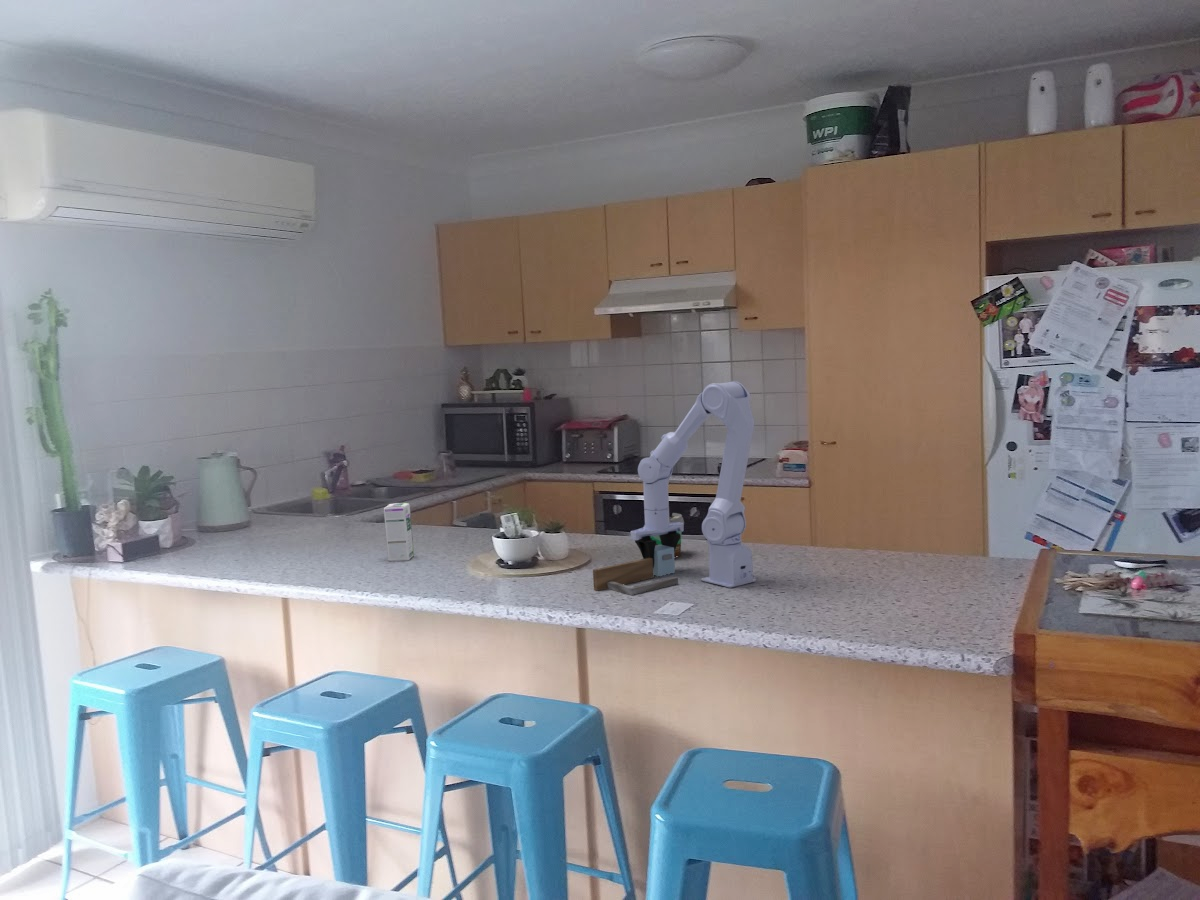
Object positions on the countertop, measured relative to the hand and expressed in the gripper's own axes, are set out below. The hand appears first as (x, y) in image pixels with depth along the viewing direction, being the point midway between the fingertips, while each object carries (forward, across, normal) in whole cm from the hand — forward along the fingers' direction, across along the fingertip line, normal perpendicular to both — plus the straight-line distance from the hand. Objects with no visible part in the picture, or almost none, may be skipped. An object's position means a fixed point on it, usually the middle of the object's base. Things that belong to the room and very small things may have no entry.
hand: (658, 565), depth 221 cm
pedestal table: (+2, +12, +6) cm, 14 cm away
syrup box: (+2, +36, -63) cm, 73 cm away
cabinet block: (+2, 0, 0) cm, 2 cm away
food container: (+2, -13, -11) cm, 17 cm away
